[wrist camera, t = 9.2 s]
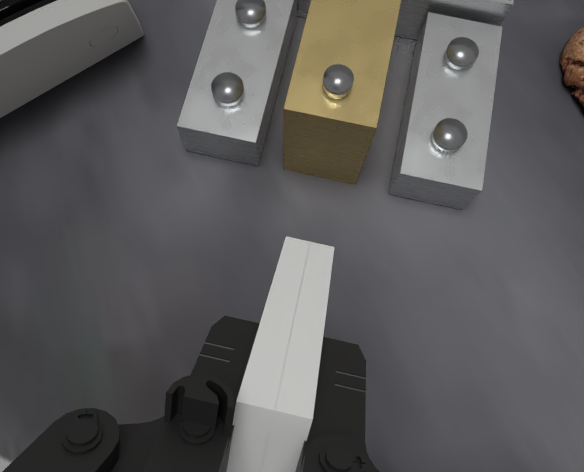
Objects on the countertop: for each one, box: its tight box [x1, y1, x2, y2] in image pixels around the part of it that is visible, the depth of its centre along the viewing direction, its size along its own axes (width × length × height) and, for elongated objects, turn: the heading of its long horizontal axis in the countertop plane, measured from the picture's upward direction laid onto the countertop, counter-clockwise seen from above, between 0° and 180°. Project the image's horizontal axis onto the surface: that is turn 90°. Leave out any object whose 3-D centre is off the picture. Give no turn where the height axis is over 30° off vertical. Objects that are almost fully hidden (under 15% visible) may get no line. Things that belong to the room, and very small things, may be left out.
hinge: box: [0, 0, 145, 118], centre depth 32 cm, size 17×5×10 cm, turn 126°
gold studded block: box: [283, 0, 401, 184], centre depth 32 cm, size 12×5×9 cm, turn 167°
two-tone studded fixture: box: [177, 0, 514, 210], centre depth 34 cm, size 14×19×5 cm
